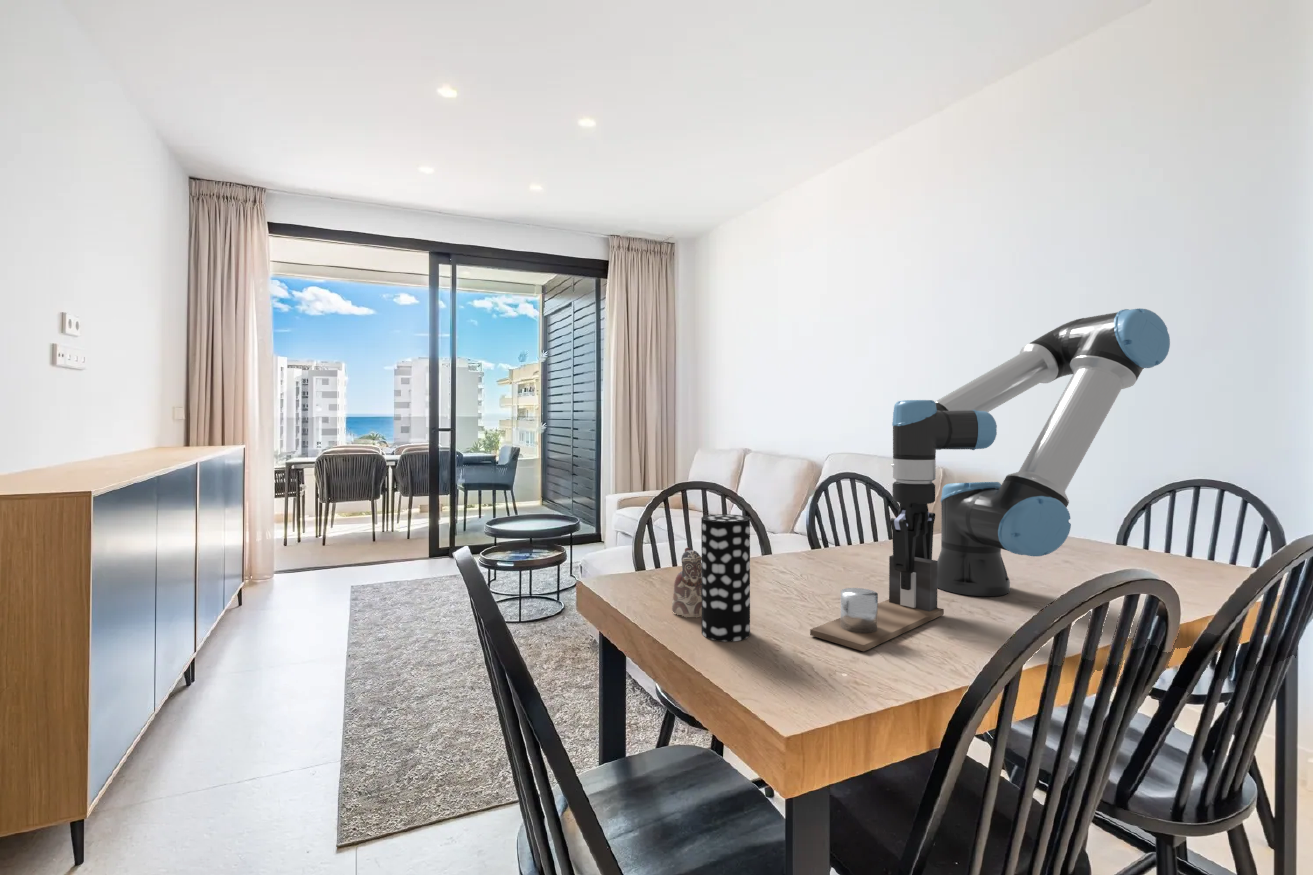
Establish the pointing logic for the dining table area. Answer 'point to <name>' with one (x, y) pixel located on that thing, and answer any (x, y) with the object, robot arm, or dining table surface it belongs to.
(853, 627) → the steel tin
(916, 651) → the dining table surface
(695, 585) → the figurine
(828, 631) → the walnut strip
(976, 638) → the dining table surface
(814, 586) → the dining table surface
